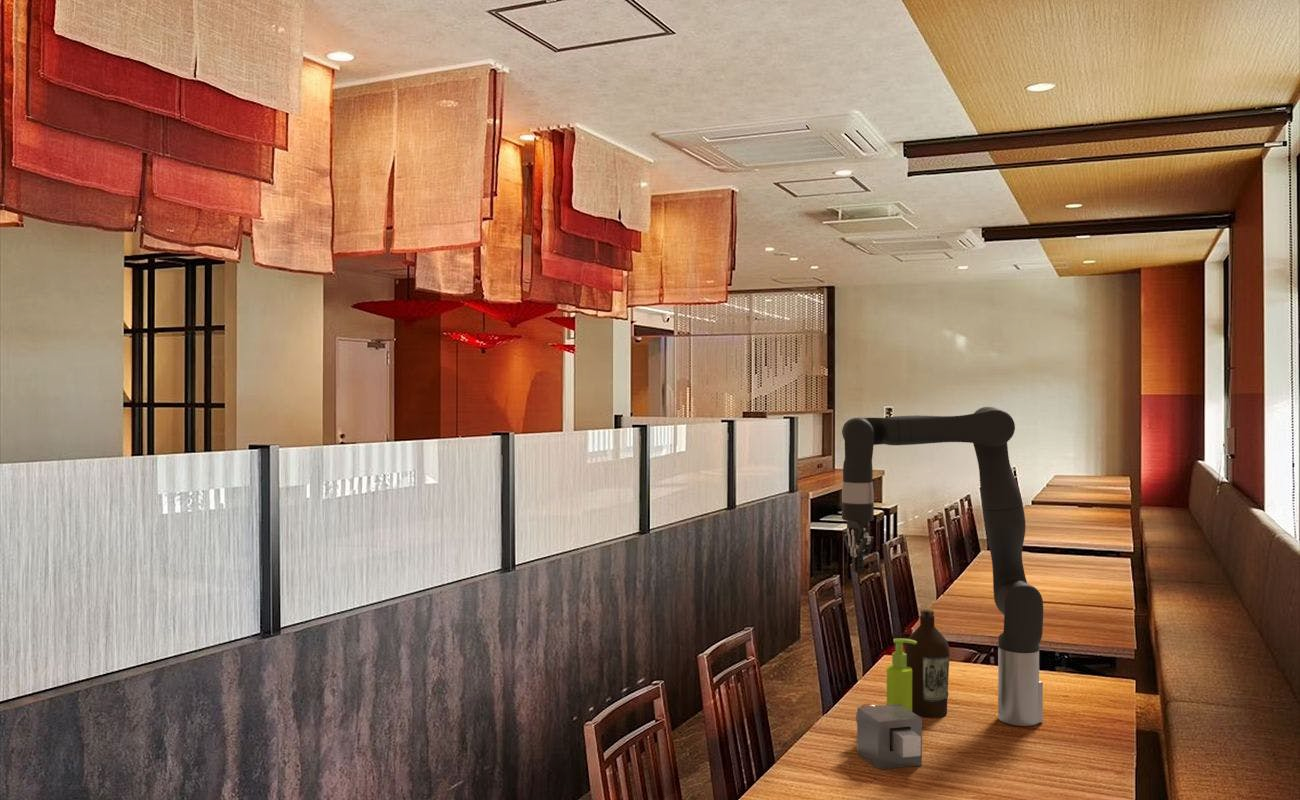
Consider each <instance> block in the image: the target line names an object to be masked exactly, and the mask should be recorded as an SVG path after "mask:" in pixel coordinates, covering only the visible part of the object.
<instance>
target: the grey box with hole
mask: <svg viewBox="0 0 1300 800" xmlns="http://www.w3.org/2000/svg"><path fill="white" fill-rule="evenodd" d="M856 710H857V712H856V714H857V722H856V724H857V725H856V726H857V727H856V729H857V732H856V736H857V737H856V738H857V740H856V742H857V744H856V746H857V749H856V750H857V751H856V752H857V755H859V756H860V757H861V758H862V759H864V760H865V761H867V763H869V764H871V765H872V766H873V767H874V768H876V770H878V771H879V770H887V769H898V768H909V767H915V766H916V767H918V766H922V765H923V717H920V716H918V715H916V714H915V713H913V712H911V711H910V710H908V709H907V708H905V707H903V706H902V705H900V704H893V705H887V704H885V705H875V706H869V707H861V706H860V707H857V709H856ZM900 727H907V728H909V729H910V730H912V731H913V732H915V733H916V734H918V735H920V736H921V756H913V757H902V756H900V755H899V754H897V753H896V752H895V751H893V750H892V749H891V748H890V728H900Z"/></svg>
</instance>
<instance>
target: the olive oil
mask: <svg viewBox="0 0 1300 800" xmlns="http://www.w3.org/2000/svg"><path fill="white" fill-rule="evenodd" d="M934 614H935V611H934V610H933V609H920V616H919V623H920V624H919V626H918V627H917V628H916V629H915V630H914V631H913V632H912V633H911V634H910V635H909V637H908V638H907V639H912V640H915V641H917V643H916V644H911V643H905V646H904V652H905V653H906V654H907V666H908V667H911V668H912V712H913V713H915V714H916V715H918V716H920V717H921V718H925V719H935V718H936V719H938V718H944V717H945V716H947V714H948V698H949V673H950V656H951V655H950V653H951V652H950V651H951V650H950V646H949V643H948V641H947V639H946V638H945V637H944V635H942V633H941V632H940V631H939V630H938V629H937V628H936V626H935V616H934Z"/></svg>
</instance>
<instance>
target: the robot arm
mask: <svg viewBox="0 0 1300 800" xmlns="http://www.w3.org/2000/svg"><path fill="white" fill-rule="evenodd" d="M1015 430H1016V424H1015V420H1014V419H1013V417H1012V415H1010V414H1009V413H1008V412H1007V411H1005V409H1002V408H999V407H994V406H983V407H980V408H978V409H977V410H976V411H974V412H973V413H970V414H963V415H961V414H960V415H948V416H947V415H943V416H942V415H918V414H917V415H916V414H915V415H896V416H888V417H887V416H885V417H853V418H849V420H847V421H846V422H844V424H843V426H842V429H841V434H842V438H843V441H844V460H843V464H842V487H841V519H842V520H843V521H846V523H847V524H846V530H842V533H841V534H842V538H843V540H844V545H845V547H846V550H847V553H848V554H849V553H850V557H851V558H852V560H851V564H852V566H851V567H852V568H851V569H852V572H853V573H855V574H862V573H864V557H866V556H867V557H868V556H869V553H870V551H871V549H872V546H873V543H874V542H875V538H874V536H870V534H869V531H870V528H869V522H872V521H874V518H875V517H874V516H875V515H874V513H875V512H874V511H875V510H874V509H875V508H874V507H875V506H874V505H875V503H874V501H875V496H874V495H875V493H874V483H873V482H874V481H873V478H874V477H873V475H874V474H873V473H874V471H873V453H874V446H878V445H879V446H881V445H887V446H914V445H926V444H939V443H940V444H941V443H970V444H971V443H972V444H973V447H974V452H975V455H976V460H977V465H978V472H979V485H980V495H981V505H982V511H983V512H982V513H983V518H984V526H985V529H986V534H987V542H988V548H989V552H990V557H991V565H992V582H993V583H992V585H993V586H992V587H993V588H992V589H993V600H994V603H995V607H996V608H997V609H998V610H999V612H1000V613H1001V614H1003V616H1004V617H1003V631H1002V633H1000V634H999V635H998V639H997V641H998V643H997V644H998V647H997V648H998V650H997V655H998V659H997V660H998V661H997V663H998V666H997V669H998V670H997V672H998V673H997V680H998V681H997V682H998V683H997V688H998V689H997V693H998V694H997V696H998V697H997V698H998V699H997V704H998V705H997V707H998V708H997V718H998V720H999V721H1000V722H1002V723H1005V724H1009V725H1012V726H1017V727H1019V726H1020V727H1031V726H1036V725H1038V724H1040V723H1043V721H1044V715H1043V714H1044V712H1043V710H1044V709H1043V708H1044V703H1043V702H1044V699H1043V698H1044V697H1043V696H1044V684H1043V682H1042V680H1040V643H1041V640H1042V638H1043V632H1044V629H1043V627H1044V600H1043V597H1042V593H1040V591H1039V589H1037V588H1036V587H1035V586H1033V585H1031V584H1030V583H1028V581H1027V578H1026V574H1025V569H1024V563H1023V548H1024V541H1025V537H1026V536H1025V535H1026V529H1027V528H1026V525H1027V524H1026V516H1025V509H1024V503H1023V498H1022V493H1021V491H1020V488H1019V485H1018V483H1017V482H1018V481H1017V480H1016V478H1015V475H1014V472H1013V469H1012V467H1011V463H1010V457H1009V448H1008V442H1009V441H1010V440H1011V439H1012V437H1013V436H1014V434H1015Z"/></svg>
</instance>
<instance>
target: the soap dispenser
mask: <svg viewBox="0 0 1300 800" xmlns="http://www.w3.org/2000/svg"><path fill="white" fill-rule="evenodd" d="M906 643H911V644H916V643H917V641H915V640H912V639H908V638H905V637H904V638H903V637H902V638H893V644H895V650H894V652H892V653H891V665H888V666H886V705H893V704H900V705H902V706H903V707H905V708H907V709H908V710H910V711H911V712H912V668H911V667H908V666H907V654H906V653H905V651H904V644H906Z"/></svg>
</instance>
